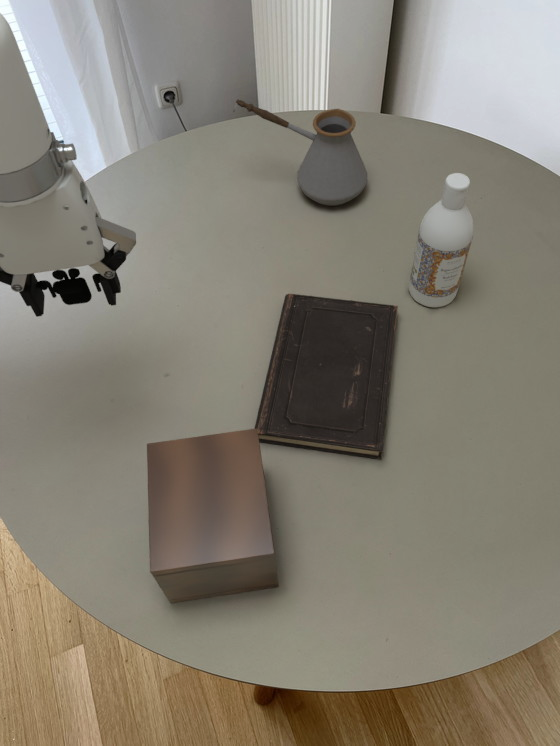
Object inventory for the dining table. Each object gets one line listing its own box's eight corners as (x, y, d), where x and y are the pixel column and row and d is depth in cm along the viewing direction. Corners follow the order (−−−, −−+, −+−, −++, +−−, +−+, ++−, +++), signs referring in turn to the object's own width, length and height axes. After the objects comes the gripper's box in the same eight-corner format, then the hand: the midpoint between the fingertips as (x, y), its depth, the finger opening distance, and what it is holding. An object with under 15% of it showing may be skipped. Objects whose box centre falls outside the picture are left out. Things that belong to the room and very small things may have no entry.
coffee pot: (371, 171, 110) (378, 90, 98) (360, 218, 104) (367, 137, 92) (249, 158, 113) (242, 77, 101) (232, 202, 107) (222, 121, 95)
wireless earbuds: (111, 292, 72) (98, 259, 67) (110, 309, 70) (98, 277, 66) (47, 300, 71) (30, 268, 67) (45, 317, 70) (28, 286, 66)
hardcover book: (395, 316, 92) (397, 305, 91) (380, 459, 80) (382, 451, 78) (285, 303, 95) (284, 292, 93) (253, 441, 82) (252, 432, 80)
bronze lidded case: (170, 603, 71) (149, 572, 62) (165, 486, 79) (146, 443, 70) (278, 587, 72) (274, 553, 62) (263, 472, 79) (257, 428, 70)
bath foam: (419, 314, 92) (443, 205, 76) (400, 279, 96) (420, 168, 80) (464, 302, 93) (497, 192, 77) (444, 269, 97) (472, 157, 81)
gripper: (116, 124, 58) (155, 264, 73) (-82, 151, 57) (-2, 287, 72) (118, 179, 54) (159, 315, 68) (-97, 208, 53) (-8, 340, 67)
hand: (76, 300), depth 70 cm, fingers closed on wireless earbuds, 7 cm apart
